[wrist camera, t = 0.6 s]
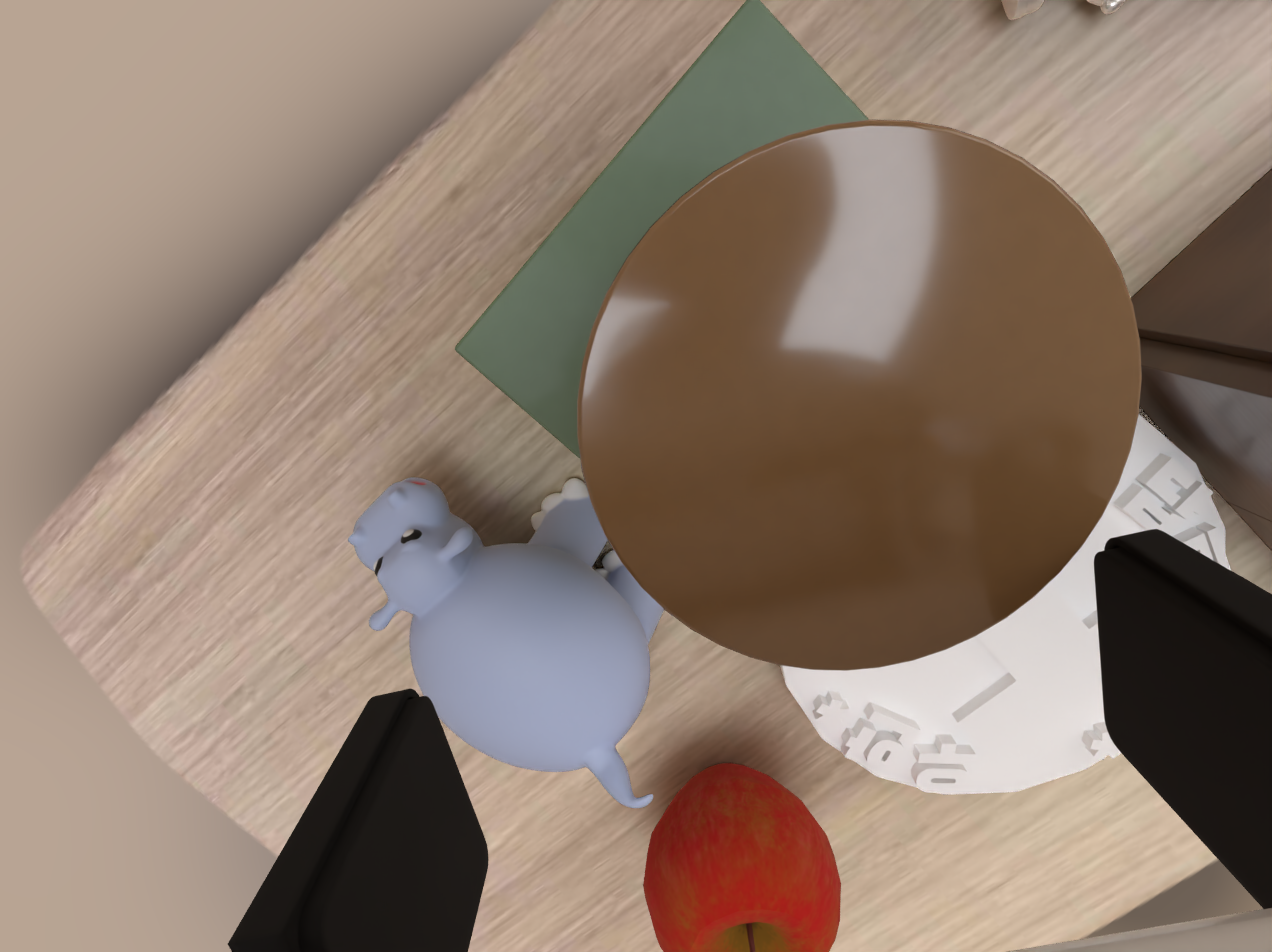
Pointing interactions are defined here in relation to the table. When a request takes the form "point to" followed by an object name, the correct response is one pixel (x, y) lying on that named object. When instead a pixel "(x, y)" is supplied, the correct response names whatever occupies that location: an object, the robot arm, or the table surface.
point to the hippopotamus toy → (517, 629)
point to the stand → (644, 206)
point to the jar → (859, 395)
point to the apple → (741, 868)
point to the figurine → (1020, 3)
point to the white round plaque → (1012, 662)
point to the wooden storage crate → (1217, 354)
